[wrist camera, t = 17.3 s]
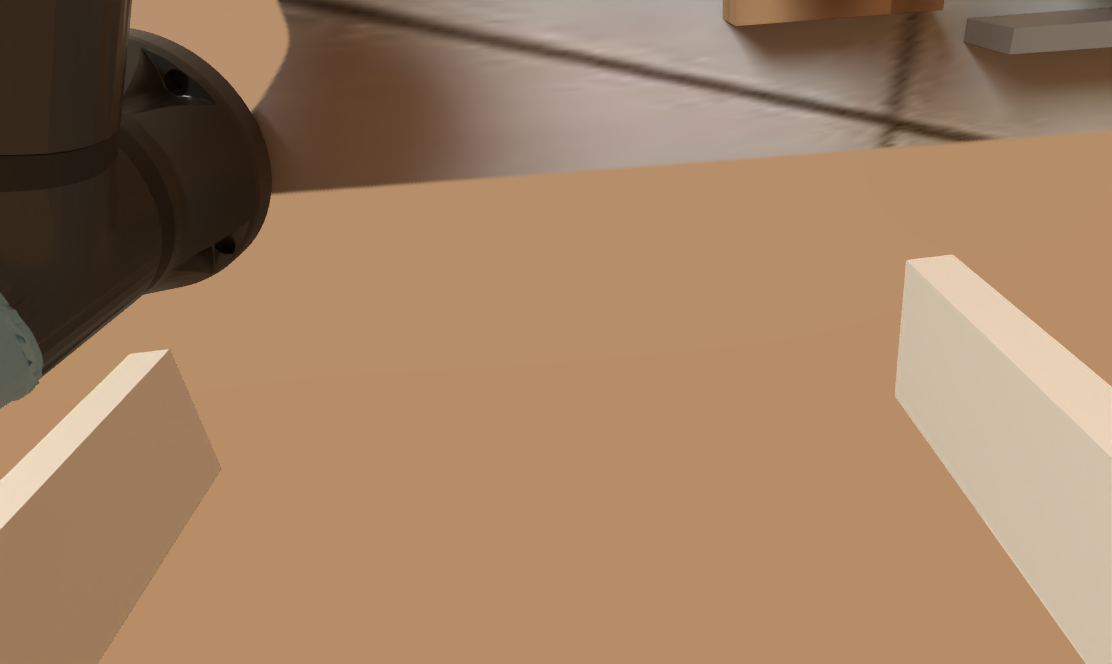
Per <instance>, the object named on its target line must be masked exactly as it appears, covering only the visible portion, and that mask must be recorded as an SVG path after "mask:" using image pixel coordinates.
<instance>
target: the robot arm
mask: <svg viewBox="0 0 1112 664" xmlns="http://www.w3.org/2000/svg"><path fill="white" fill-rule="evenodd" d="M131 4H132V0H0V408H2V407H4V406H5V405H7V404H8V403H10V402H11V401H15V400H19V399H21V398H23V397H24V396H26V395H27V394H29V393H30V392H31V391H32V390H33V389H34V388H35V386H36V385H37V384H39V381H38V380H39V379H40V378H42V377H43V376H44V375H45V374H46V373H47V372H48V371H50V370H51V369H52V368H54V367H55V366H56V365H57V364H59V363H60V362H61V361H62V360H64V358H66V357H67V356H68V355H70V354H71V353H72V352H73V351H75V350H76V349H77V348H78V347H80V346H81V345H82V344H83V343H84V342H85V341H87V340H88V339H89V338H91V337H92V336H93V335H94V334H96V333H97V332H98V331H99V330H100V329H102V328H103V327H104V326H105V325H107V324H108V323H109V322H110V321H112V320H113V319H114V318H115V317H116V316H118V315H119V314H120V313H121V312H123V311H124V310H125V309H126V308H127V307H129V306H130V305H131V304H132V303H134V302H135V301H136V300H137V299H138V298H139V297H141V296H142V295H144V294H149V293H153V292H158V291H163V290H168V289H173V288H178V287H183V286H187V285H191V284H194V283H197V282H200V281H202V280H204V279H206V278H209V277H211V276H212V275H214V274H216V273H218V272H219V271H221V270H222V269H224V268H225V267H227V266H228V265H229V264H230V263H231V262H232V261H234V260H235V259H236V258H237V257H238V256H239V255H240V254H241V253H242V252H243V251H244V250H245V249H246V248H247V247H248V246H249V245H250V244H251V243H252V241H253V240H254V239H255V237H256V236H257V234H258V232H259V231H260V229H261V227H262V225H263V223H264V220H265V217H266V214H267V211H268V207H269V203H270V196H271V170H270V163H269V158H268V153H267V150H266V146H265V143H264V140H263V137H262V135H261V132H260V130H259V128H258V125H257V123H256V121H255V119H254V118H253V116H252V114H251V112H250V111H249V109H248V107H247V106H246V104H245V103H244V101H243V100H242V98H241V97H240V96H239V95H238V94H237V92H236V91H235V90H234V88H233V87H232V86H231V85H230V84H229V83H228V81H227V80H226V79H224V77H222V76H221V74H220V73H219V72H217V71H216V70H215V69H214V68H213V67H211V65H209V64H208V63H207V62H205V61H204V60H203V59H202V58H200V57H199V56H197V55H196V54H194V53H193V52H191V51H190V50H188V49H186V48H184V47H183V46H181V45H179V44H177V43H175V42H173V41H170V40H168V39H166V38H164V37H161V36H158V35H155V34H152V33H149V32H145V31H141V30H136V29H130V28H129V27H130V17H131V6H132V5H131ZM897 364H898V365H897V375H896V387H895V397H896V398H897V400H898V401H899V402H900V404H901V405H902V407H903V408H904V409H905V411H906V412H907V413H908V415H909V416H910V418H911V419H912V421H913V422H914V423H915V425H916V426H917V428H918V429H919V430H920V432H921V433H922V435H923V436H924V437H925V439H926V440H927V442H928V443H929V444H930V446H931V447H932V449H933V450H934V451H935V453H936V454H937V456H938V457H939V458H940V460H941V461H942V463H943V464H944V466H945V467H946V468H947V470H948V471H949V473H950V474H951V475H952V477H953V478H954V479H955V481H956V482H957V484H958V485H959V486H960V488H961V489H962V491H963V492H964V494H965V495H966V496H967V498H968V499H969V501H970V502H971V503H972V505H973V506H974V508H975V509H976V510H977V512H978V513H979V515H980V516H981V517H982V519H983V520H984V522H985V523H986V524H987V526H988V527H989V529H990V530H991V531H992V533H993V534H994V535H995V537H996V538H997V540H998V541H999V542H1000V544H1001V545H1002V547H1003V548H1004V550H1005V551H1006V552H1007V554H1008V555H1009V557H1010V558H1011V559H1012V561H1013V562H1014V563H1015V565H1016V566H1017V568H1018V569H1019V571H1020V572H1021V573H1022V575H1023V576H1024V578H1025V579H1026V581H1027V582H1028V583H1029V584H1030V586H1031V588H1032V589H1033V590H1034V592H1035V593H1036V595H1037V596H1038V597H1039V599H1040V600H1041V601H1042V603H1043V604H1044V606H1045V607H1046V609H1047V610H1048V611H1049V613H1050V614H1051V616H1052V617H1053V618H1054V620H1055V621H1056V622H1057V624H1058V625H1059V626H1060V628H1061V629H1062V631H1063V632H1064V634H1065V635H1066V636H1067V638H1068V639H1069V641H1070V642H1071V644H1072V645H1073V646H1074V648H1075V649H1076V651H1077V652H1078V653H1079V655H1080V656H1081V658H1082V659H1083V660H1084V662H1085V663H1086V664H1112V387H1111V386H1110V385H1109V384H1107V383H1106V382H1105V381H1104V380H1103V379H1101V378H1100V377H1099V376H1098V375H1097V374H1096V373H1094V372H1093V371H1092V370H1091V369H1089V368H1088V367H1087V366H1086V365H1085V364H1083V363H1082V362H1081V361H1080V360H1079V359H1078V358H1076V357H1075V356H1074V355H1073V354H1072V353H1070V352H1069V351H1068V350H1067V349H1065V348H1064V347H1063V346H1062V345H1061V344H1060V343H1058V342H1057V341H1056V340H1055V339H1054V338H1052V337H1051V336H1050V335H1049V334H1047V333H1046V332H1045V331H1044V330H1043V329H1041V328H1040V327H1039V326H1038V325H1037V324H1035V323H1034V322H1033V321H1031V319H1029V318H1028V317H1027V316H1026V315H1025V314H1023V313H1022V312H1021V311H1020V310H1019V309H1017V308H1016V307H1015V306H1014V305H1013V304H1011V303H1010V302H1009V301H1008V300H1007V299H1005V298H1004V297H1003V296H1002V295H1001V294H999V293H998V292H997V291H996V290H995V289H993V288H992V287H991V286H990V285H988V284H987V283H986V282H985V281H984V280H983V279H981V278H980V277H979V276H978V275H976V274H975V273H974V272H973V271H972V270H970V269H969V268H968V267H967V266H966V265H965V264H963V263H962V262H961V261H960V260H959V259H957V258H956V257H955V256H954V255H945V256H937V257H929V258H921V259H912V260H907V261H906V270H905V282H904V293H903V305H902V317H901V329H900V340H899V353H898V363H897ZM220 470H221V467H220V464H219V462H218V460H217V458H216V455H215V453H214V451H213V448H212V446H211V444H210V441H209V439H208V437H207V434H206V432H205V430H204V427H203V425H202V423H201V421H200V418H199V416H198V414H197V411H196V409H195V407H194V404H193V402H192V400H191V397H190V395H189V393H188V390H187V388H186V386H185V383H184V381H183V379H182V377H181V374H180V372H179V370H178V367H177V365H176V363H175V360H174V358H173V356H172V354H171V351H170V349H167V350H158V351H150V352H142V353H134V354H129V355H128V356H127V357H126V358H125V359H124V360H123V361H122V362H121V363H120V364H119V365H118V366H117V367H116V368H115V369H114V370H113V371H112V372H111V373H110V374H109V375H108V376H107V377H106V378H105V379H104V380H103V381H102V382H101V383H100V384H99V385H97V386H96V387H95V388H94V389H93V390H92V391H91V392H90V393H89V394H88V395H87V396H86V397H85V398H84V399H83V400H82V401H81V402H80V403H79V404H78V405H77V406H76V407H75V408H74V409H73V410H72V411H71V412H70V413H69V414H68V415H67V416H66V417H65V418H64V419H63V420H62V421H61V422H60V423H59V424H58V425H57V426H56V427H55V428H54V429H53V430H51V432H49V433H48V434H47V435H46V437H45V438H43V439H42V440H41V441H40V442H39V443H38V444H37V445H36V446H35V447H34V448H33V449H32V450H31V451H30V452H29V453H28V454H27V455H26V456H25V457H24V458H23V459H22V460H21V461H20V462H19V463H18V464H17V465H16V466H15V467H14V468H13V469H12V470H11V471H10V472H9V473H8V474H7V475H6V476H5V477H4V478H3V479H2V480H0V664H98V663H99V661H100V659H101V658H102V656H103V655H104V653H105V652H106V650H107V648H108V647H109V645H110V644H111V642H112V641H113V639H114V637H115V636H116V634H117V633H118V631H119V629H120V628H121V626H122V625H123V623H124V622H125V620H126V618H127V617H128V615H129V614H130V612H131V611H132V609H133V607H134V606H135V604H136V602H137V601H138V599H139V598H140V596H141V595H142V593H143V592H144V590H145V588H146V587H147V585H148V584H149V582H150V580H151V579H152V577H153V576H154V574H155V572H156V571H157V570H158V568H159V566H160V565H161V563H162V561H163V560H164V558H165V557H166V555H167V554H168V552H169V550H170V549H171V547H172V546H173V544H174V542H175V541H176V540H177V538H178V536H179V535H180V533H181V532H182V530H183V528H184V527H185V525H186V524H187V522H188V521H189V519H190V517H191V516H192V514H193V512H194V511H195V509H196V508H197V506H198V505H199V503H200V501H201V500H202V498H203V497H204V495H205V494H206V492H207V491H208V489H209V487H210V486H211V484H212V483H213V481H214V480H215V478H216V476H217V475H218V473H219V472H220Z"/></svg>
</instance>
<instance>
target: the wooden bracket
mask: <svg viewBox="0 0 1112 664" xmlns="http://www.w3.org/2000/svg"><path fill="white" fill-rule="evenodd" d="M943 4H944V0H723V19H724V20H726V21H728V22H729V23H731V24H733V25H734V26H743V25H756V24H769V23H782V22H795V21H808V20H821V19H834V18H846V17H859V16H872V15H885V14H898V13H911V12H924V11H937V10H943Z"/></svg>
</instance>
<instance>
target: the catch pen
mask: <svg viewBox="0 0 1112 664" xmlns="http://www.w3.org/2000/svg"><path fill="white" fill-rule="evenodd" d="M964 42H965V43H969V44H972V45H976V46H980V47H984V48H987V49H991V50H995V51H998V52H1002V53H1006V54H1009V55H1010V54H1024V53H1037V52H1051V51H1065V50H1078V49H1092V48H1106V47H1112V8H1099V9H1086V10H1073V11H1060V12H1047V13H1034V14H1021V15H1007V16H994V17H981V18H968V20H967V26H966V33H965V39H964Z"/></svg>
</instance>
